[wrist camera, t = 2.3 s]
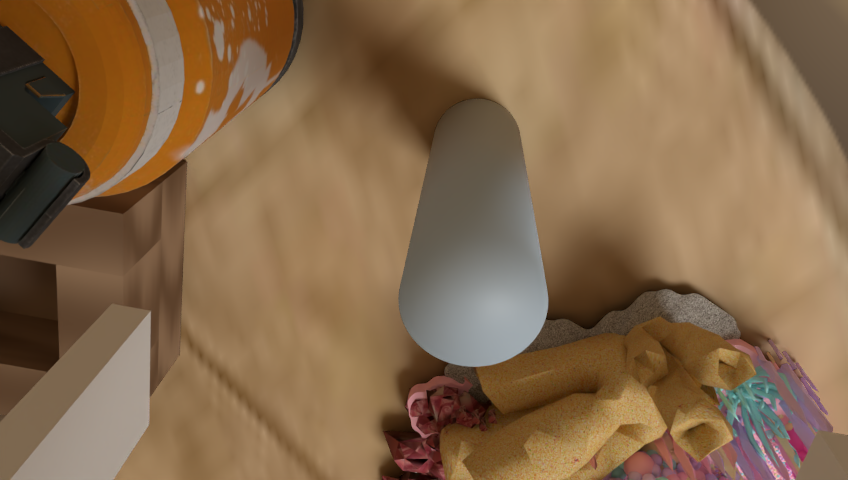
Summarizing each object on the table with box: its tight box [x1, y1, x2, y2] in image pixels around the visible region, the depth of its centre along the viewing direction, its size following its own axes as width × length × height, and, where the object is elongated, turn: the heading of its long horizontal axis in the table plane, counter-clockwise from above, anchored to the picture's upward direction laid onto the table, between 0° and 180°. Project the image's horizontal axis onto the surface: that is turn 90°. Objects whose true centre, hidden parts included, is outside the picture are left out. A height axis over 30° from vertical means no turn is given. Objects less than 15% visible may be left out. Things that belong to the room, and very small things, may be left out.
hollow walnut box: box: [0, 161, 187, 415], centre depth 35 cm, size 11×11×7 cm
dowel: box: [399, 99, 548, 367], centre depth 28 cm, size 4×4×16 cm
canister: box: [0, 0, 303, 249], centre depth 24 cm, size 9×11×20 cm
